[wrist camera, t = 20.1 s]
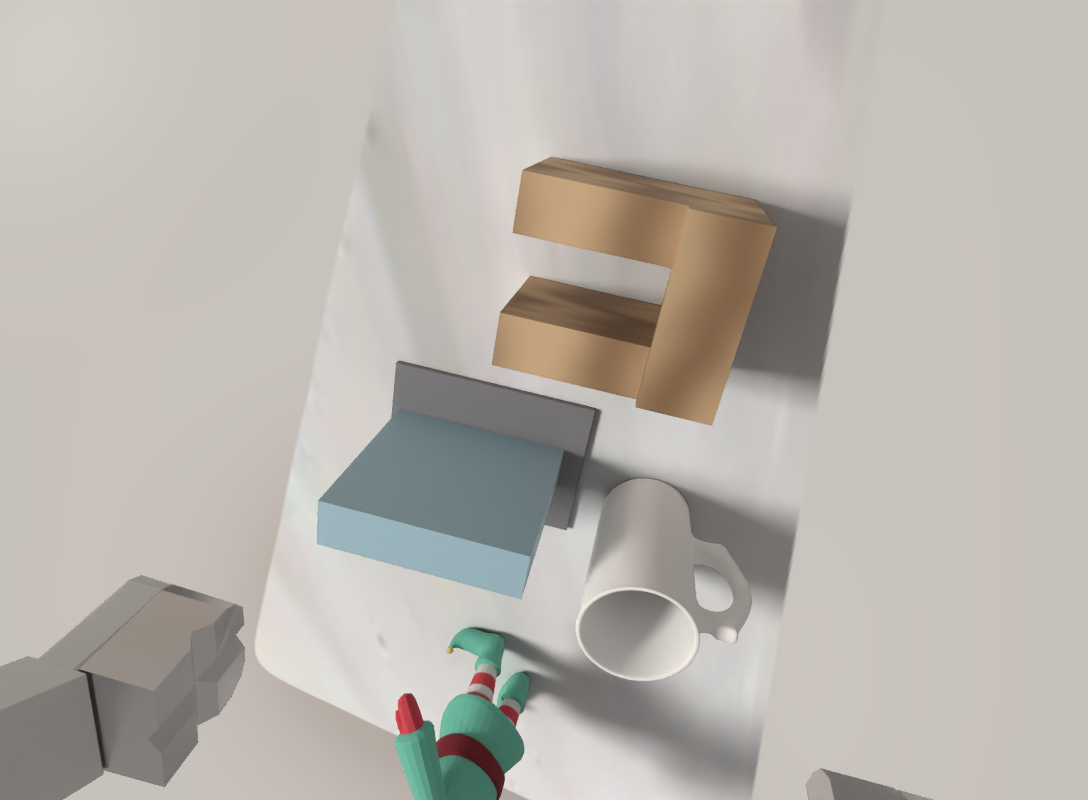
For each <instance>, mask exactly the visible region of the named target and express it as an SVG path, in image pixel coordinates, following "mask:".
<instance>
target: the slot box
mask: <svg viewBox="0 0 1088 800" xmlns="http://www.w3.org/2000/svg"><path fill="white" fill-rule="evenodd" d="M776 231H777V226H776V225H775V224H774V223H773V221H772V220H771V219H770V218H769V216H768V215H767V214H766V213H765V211H764V210H763V209H762V208H761V206H760V205H759V204H758V203H757V201H756V200H753V199H748V198H743V197H738V196H734V195H729V194H724V193H719V192H715V191H710V190H705V189H700V188H696V187H691V186H686V185H681V184H677V183H672V182H667V181H662V180H658V179H653V178H648V177H643V176H639V175H634V174H629V173H624V172H620V171H615V170H610V169H605V168H601V167H596V166H591V165H586V164H582V163H577V162H572V161H567V160H563V159H558V158H553V157H550V158H547V159H545V160H543V161H541V162H539V163H537V164H535V165H532V166H530V167H528V168H526V169H524V170H522V176H521V183H520V189H519V195H518V202H517V208H516V214H515V221H514V227H513V233H516V234H520V235H525V236H529V237H534V238H538V239H543V240H547V241H552V242H556V243H561V244H565V245H570V246H574V247H579V248H583V249H588V250H592V251H597V252H601V253H606V254H610V255H615V256H620V257H624V258H629V259H633V260H638V261H642V262H647V263H651V264H656V265H660V266H665V267H669V268H672V269H671V273H670V277H669V280H668V284H667V288H666V292H665V295H664V299H663V303H662V306H660V305H655V304H651V303H647V302H642V301H638V300H633V299H629V298H625V297H620V296H616V295H611V294H607V293H603V292H598V291H594V290H589V289H585V288H580V287H576V286H572V285H567V284H563V283H558V282H554V281H550V280H545V279H541V278H536V277H532V276H530V277H529V278H528V279H527V280H526V282H525V283H524V284H523V285H522V286H521V288H520V289H519V290H518V291H517V293H516V294H515V295H514V296H513V297H512V299H511V300H510V301H509V302H508V304H507V305H506V306H505V307H504V308H503V310H502V311H501V312H500V316H499V323H498V329H497V335H496V342H495V348H494V354H493V361H492V365H495V366H499V367H504V368H508V369H512V370H516V371H520V372H524V373H529V374H533V375H537V376H541V377H545V378H549V379H554V380H558V381H562V382H566V383H570V384H575V385H579V386H583V387H587V388H591V389H595V390H600V391H604V392H608V393H612V394H616V395H620V396H625V397H629V398H633V399H637V400H636V407H637V408H641V409H645V410H649V411H653V412H658V413H662V414H666V415H670V416H674V417H678V418H682V419H687V420H691V421H695V422H699V423H703V424H707V425H712V424H713V421H714V418H715V415H716V412H717V409H718V406H719V403H720V400H721V397H722V394H723V391H724V388H725V385H726V382H727V379H728V376H729V373H730V370H731V367H732V364H733V361H734V358H735V355H736V352H737V348H738V345H739V342H740V339H741V336H742V333H743V330H744V327H745V324H746V321H747V318H748V315H749V312H750V309H751V306H752V303H753V300H754V297H755V294H756V291H757V288H758V285H759V282H760V279H761V276H762V273H763V270H764V267H765V264H766V261H767V258H768V255H769V252H770V249H771V246H772V243H773V240H774V237H775V234H776Z"/></svg>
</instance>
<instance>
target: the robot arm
mask: <svg viewBox="0 0 1088 800" xmlns="http://www.w3.org/2000/svg"><path fill="white" fill-rule="evenodd" d="M243 625H244V616H243V607H241V606H239V605H237V604H234V603H230V602H227V601H224V600H221V599H218V598H214V597H211V596H208V595H205V594H202V593H198V592H196V591H192V590H189V589H186V588H183V587H180V586H176V585H172V584H169V583H166V582H162V581H159V580H156V579H152V578H149V577H146V576H142V575H141V576H139V577H136V578H133V579H131V580H129V581H127V582H126V583H125V584H124V585H123V586H121V587H120V588H119V589H118V590H117V591H116V592H114V594H112V595H111V596H110V597H109V598H108V599H106V600H105V601H104V602H103V603H102V604H101V605H99V606H98V607H97V608H96V609H95V610H94V611H93V612H91V613H90V614H89V615H88V616H87V617H86V618H85V619H83V621H81V622H80V623H79V624H78V625H77V626H75V627H74V628H73V629H72V630H71V631H70V632H69V633H68V634H66V635H65V636H64V637H63V638H62V639H60V640H59V641H58V642H57V643H56V644H55V645H54V646H53V647H51V648H50V649H49V650H48V651H47V652H46V653H44V654H43V655H42V656H41V657H40V658H39V659H37V658H33V657H29V656H27V657H24V658H22V659H19V660H17V661H14V662H11V663H9V664H6V665H3V666H1V667H0V800H63V799H64V798H66V797H68V796H69V795H71V794H73V793H74V792H76V791H77V790H79V789H81V788H82V787H84V786H86V785H87V784H89V783H91V782H92V781H94V780H95V779H97V778H99V777H100V776H102V775H103V773H104V772H103V770H105V771H109V772H112V773H116V774H120V775H123V776H127V777H130V778H134V779H137V780H141V781H145V782H148V783H152V784H155V785H159V786H163V787H165V786H166V785H167V783H168V782H169V781H170V779H171V778H172V776H173V775H174V774H175V773H176V771H177V770H178V769H179V767H180V766H181V765H182V763H183V762H184V761H185V759H186V758H187V757H188V755H189V754H190V753H191V751H192V750H193V749H194V747H195V746H196V745H197V743H198V725H199V724H201V723H203V722H205V721H207V720H209V719H211V718H213V717H215V716H217V715H219V713H220V712H221V711H222V709H223V708H224V707H225V705H226V704H227V702H228V701H229V700H230V698H231V697H232V695H233V692H234V690H235V688H236V686H237V684H238V682H239V680H240V677H241V675H242V670H243V666H244V662H245V647H244V646H243V644H242V643H241V641H240V640H239V639H238V637H237V636H236V634H237V633H238V631H239V630H240V629H241V628H242V626H243ZM806 787H807V793H808V799H809V800H932V799H928V798H925V797H921V796H917V795H914V794H911V793H907V792H903V791H899V790H895V789H894V788H891V787H888V786H884V785H880V784H876V783H873V782H869V781H865V780H861V779H858V778H854V777H851V776H847V775H843V774H839V773H836V772H832V771H828V770H825V769H819V770H817V771H815V772H814V773H813V774H812V776H811V777H810V779H809V781H808V783H807V784H806Z"/></svg>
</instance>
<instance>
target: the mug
mask: <svg viewBox="0 0 1088 800" xmlns="http://www.w3.org/2000/svg"><path fill="white" fill-rule="evenodd" d="M693 565H704V566H708V567H711V568H713V569H715V570H716V571H718V572H719V573H720V574H721V575H723V576H724V578H725V579H726V580H727V582H728V583H729V585H730V587H731V589H732V592H733V597H734V601H733V604H732V605H731V607H730V608H728V609H727V610H725V611H722V612H713V611H709V610H706V609H704V608H702V607H701V606H700V605H699V603H698V601H697V598H696V591H695V579H694V566H693ZM751 603H752V598H751V592H750V588H749V585H748V583H747V581H746V579H745V577H744V575H743V573H742V572H741V570H740V568H739V567H738V565H737V564H736V563H735V561H734V560H733V558H732V557H731V555H730V554H729V552H728V551H727V549H726V548H725V547H724V546H723V545H721V544H717V543H709V542H705V541H701V540H698V539H696V538H695V537H694V536H693V534H692V532H691V525H690V514H689V509H688V506H687V504H686V502H685V500H684V498H683V497H682V496H681V494H680V493H679V492H678V491H677V490H675V489H674V488H673V487H671V486H670V485H668V484H666V483H664V482H661V481H658V480H655V479H648V478H638V479H632V480H628V481H626V482H623V483H621V484H619V485H618V486H616V487H615V488H614V489H613V490H612V491H611V492H610V493H609V494H608V495H607V497H606V499H605V501H604V503H603V506H602V511H601V515H600V519H599V523H598V527H597V532H596V537H595V541H594V546H593V550H592V555H591V559H590V564H589V568H588V573H587V577H586V582H585V586H584V591H583V596H582V601H581V607H580V613H579V615H578V618H577V621H576V636H577V639H578V642H579V645H580V647H581V648H582V650H583V652H584V653H585V654H586V656H587V657H588V658H589V659H590V660H591V661H592V662H593V663H594V664H596V665H597V666H598V667H600V668H601V669H603V670H604V671H606V672H608V673H610V674H612V675H615V676H617V677H620V678H624V679H628V680H634V681H655V680H660V679H665V678H668V677H670V676H673V675H675V674H677V673H679V672H680V671H682V670H683V669H685V668H686V667H687V666H688V665H689V664H690V663H691V662H692V660H693V659H694V658H695V656H696V654H697V652H698V649H699V643H700V637H699V633H709V634H711V635H713V636H714V637H715V638H716V639H717V640H721V641H726V642H729V643H736V641H737V639H738V633H739V631H740V630H741V628H742V626H743V625H744V623H745V621H746V620H747V618H748V615H749V613H750V609H751Z"/></svg>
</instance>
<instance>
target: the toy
mask: <svg viewBox="0 0 1088 800" xmlns="http://www.w3.org/2000/svg"><path fill="white" fill-rule="evenodd" d="M453 648H460V649H463V650H466V651H469V652H471V653H473V654H475V655H478V656H479V658H478V659H477V661H476V663H475V669H476V673H475V675H474V677H473V679H472V682H471V684H470V686H469V688H468V690H467V692H466V694H461V695H458V696H456V697H455V698H454V699H453V700H451V701H450V702H449V704H448V706H447V708H446V710H445V711H444V713H443V717H442V721H441V727H440V738H439V740H438V741H437V743H436V739H435V731H434V725H433V724H432V723H431V722H430V721H423V719H422V716H421V713H420V709H419V707H418V704H417V702H416V699H415V697H414V696H413V695H412V693H409V694H404V695H403V696H402V697H401V698H400V699H399V700H398V710H397V711H396V722H397V725H398V729H399V731H400V734H399V735H398V737H397V738H396V741H395V747H396V750H397V753H398V755H399V758H400V760H401V763H402V766H403V768H404V771H405V774H406V777H407V780H408V783H409V785H410V788H411V791H412V794H413V796H414V800H499V798H500V796H501V792H502V789H503V785H504V781H505V776H504V774H505V773H506V772H507V771H508V770H509V769H511V768H512V767H513V766H514V765H515V764H516V763H518V762H519V761H520V760H521V758H522V756H523V754H524V744H523V740H522V738H521V736H520V735H519V733H518V731H517V730H516V728H515V727H516V723H517V720H518V717H519V714H521V713H522V712H523V711H524V708H525V703H526V698H527V695H528V692H529V688H530V680H529V677H528V676H527V675H526V674H524V673H522V672H519V673H515V674H514V675H513V676H511V677H510V678H509V680H508V681H507V682H506V683H505V684H504V685H503V687H502V688H501V690H500V693H499V696H498V701H497V707H496V706H495V705H494V704H493V703H492V700H493V694H494V688H495V682H496V677H498V676H499V675H500V672H501V660H502V656H503V652H504V639H503V638H502V637H501V636H500V635H498V634H493V633H485V632H483V631H480V630H477V629H473V628H466V629H464V630H461V631H460V632H459V633H457V634H456V635H455V637H454V638H453V639H452V641H451V643H450V646H449V647H448V648H447V653H449V654H450V653H452V652H453Z"/></svg>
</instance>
